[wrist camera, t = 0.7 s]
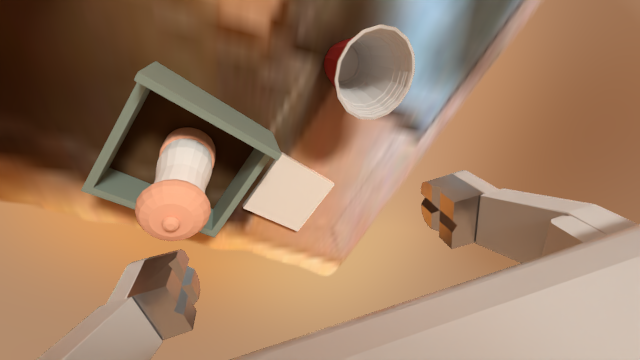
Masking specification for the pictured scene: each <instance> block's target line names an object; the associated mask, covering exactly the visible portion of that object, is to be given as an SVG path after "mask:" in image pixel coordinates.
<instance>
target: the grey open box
mask: <svg viewBox="0 0 640 360" xmlns="http://www.w3.org/2000/svg"><path fill="white" fill-rule="evenodd" d="M134 81H136V82H137V84H136V86H135V88H134V89H133V91H132V93H131V95H130V97H129V99H128V101H127V103H126V105H125V107H124V109H123V111H122V112H121V114H120V116H119V118H118V120H117V122H116V124H115V126H114V128H113V130H112V132H111V134H110V136H109V137H108V139H107V141H106V143H105V145H104V147H103V149H102V151H101V153H100V155H99V157H98V159H97V161H96V162H95V164H94V166H93V168H92V170H91V172H90V174H89V176H88V178H87V180H86V182H85V184H84V186H83V187H82V189H81V191H83V192H86V193H89V194H92V195H95V196H97V197H100V198H103V199H106V200H109V201H112V202H115V203H117V204H120V205H123V206H126V207H129V208H132V209H135V206H136V200H137V198H138V197H139V195H140V194H141V192H142V191H143V190H145V189H146V188H148V187H149V186H151V185H152V184H149V183H147V182H144V181H142V180H139V179H137V178H134V177H132V176H129V175H127V174H124V173H122V172H119V171H117V170H114V169H112V168H109V167H110V165H111V163H112V161H113V159H114V157H115V156H116V154H117V152H118V150H119V148H120V146H121V144H122V143H123V141H124V139H125V137H126V135H127V133H128V131H129V129H130V128H131V126H132V124H133V122H134V120H135V118H136V116H137V115H138V113H139V111H140V109H141V107H142V105H143V103H144V102H145V100H146V98H147V96H148V94H149V92H150V90H152V91H154V92H156V93H158V94H159V95H161V96H163V97H165V98H167V99H168V100H170V101H172V102H174V103H175V104H177V105H179V106H181V107H183V108H184V109H186V110H188V111H190V112H192V113H193V114H195V115H197V116H199V117H200V118H202V119H204V120H206V121H208V122H209V123H211V124H213V125H215V126H217V127H218V128H220V129H222V130H224V131H226V132H227V133H229V134H231V135H233V136H234V137H236V138H238V139H240V140H242V141H243V142H245V143H247V144H249V145H251V146H252V147H254V149H253V151H252V152H251V154H250V155H249V157H248V158H247V160H246V161H245V163H244V164H243V166H242V167H241V169H240V170H239V172H238V173H237V175H236V176H235V178H234V179H233V180H232V182H231V183H230V185H229V186H228V188H227V189H226V191H225V192H224V194H223V195H222V197H221V198H220V200H219V201H218V203H217V204H216V206H215V207H214V209H211V213H210V216H209V220H208V221H207V223H206V225H205V226H204V227H203V228H202V230H201V231H199V232H200V233H203V234H206V235H209V236H212V237H215V236H216V235H217V233H218V232H219V231H220V229H221V228H222V226H223V225H224V223H225V222H226V221H227V219H228V218H229V216H230V215H231V213H232V212H233V211H234V209H235V208H236V206H237V205H238V203H239V202H240V201H241V199H242V198H243V196H244V195H245V193H246V192H247V191H248V189H249V188H250V186H251V185H252V183H253V182H254V181H255V179H256V178H257V176H258V175H259V173H260V172H261V171H262V169H263V168H264V166H265V165H266V163H267V162H268V161H269V159H270V158H271V157H272V158H274V159H276V160H277V161H278V160H279V158H280V157H281V155H282V154H281V152H280V149H279V147H278V145H277V142H276V140H275V138H274V135H273V133H272V132H271V131H269V130H267V129H266V128H264V127H262V126H261V125H259V124H258V123H256V122H254V121H253V120H251V119H249V118H248V117H246V116H244V115H243V114H241V113H240V112H238V111H236V110H235V109H233V108H231V107H230V106H228V105H226V104H225V103H223V102H222V101H220V100H218V99H217V98H215V97H213V96H212V95H210V94H209V93H207V92H205V91H204V90H202V89H200V88H199V87H197V86H195V85H194V84H192V83H191V82H189V81H187V80H186V79H184V78H182V77H181V76H179V75H177V74H176V73H174V72H173V71H171V70H169V69H168V68H166V67H164V66H163V65H161V64H160V63H158V62H156V61H155V62H153V63H152V64H150V65H148V66H147V67H145V68H143V69H142V70H140V71H139V72H138V73H137V75H136V77H135V79H134Z"/></svg>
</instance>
